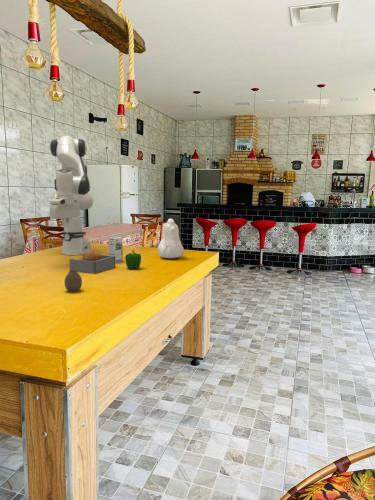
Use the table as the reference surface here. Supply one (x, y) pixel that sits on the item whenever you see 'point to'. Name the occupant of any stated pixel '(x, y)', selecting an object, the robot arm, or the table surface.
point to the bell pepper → (133, 260)
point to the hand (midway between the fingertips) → (66, 226)
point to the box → (93, 264)
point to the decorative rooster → (170, 241)
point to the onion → (91, 255)
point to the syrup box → (115, 248)
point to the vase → (73, 281)
